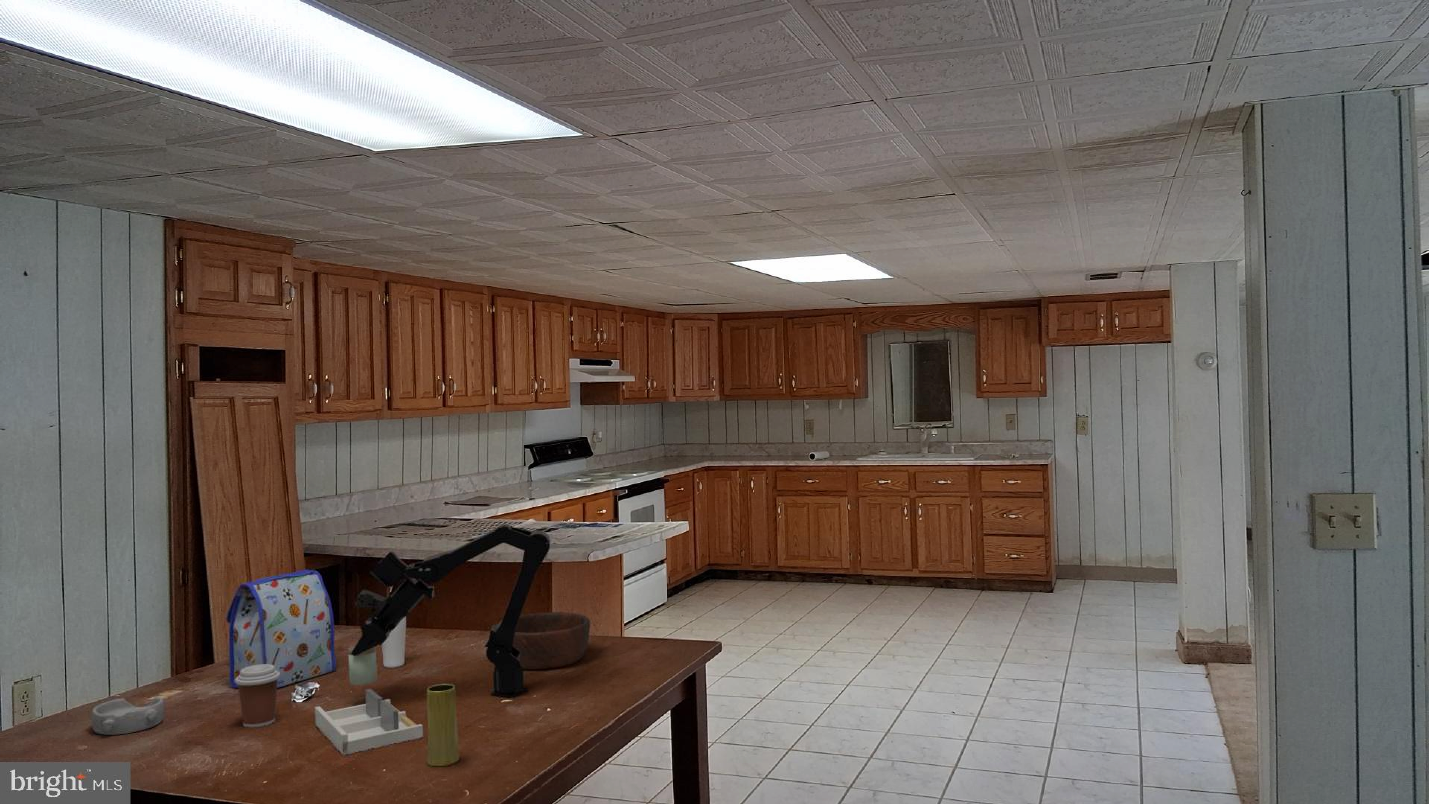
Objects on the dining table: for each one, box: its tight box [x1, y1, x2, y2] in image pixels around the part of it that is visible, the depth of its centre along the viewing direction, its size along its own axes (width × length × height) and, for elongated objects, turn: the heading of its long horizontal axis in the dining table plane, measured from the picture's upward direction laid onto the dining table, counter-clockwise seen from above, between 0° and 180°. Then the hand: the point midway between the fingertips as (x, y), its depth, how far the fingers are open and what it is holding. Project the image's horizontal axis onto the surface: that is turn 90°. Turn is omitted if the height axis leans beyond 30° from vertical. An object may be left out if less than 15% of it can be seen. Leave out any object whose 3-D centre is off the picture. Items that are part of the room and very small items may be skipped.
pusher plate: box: [365, 688, 383, 718], centre depth 213 cm, size 1×9×5 cm, turn 36°
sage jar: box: [347, 644, 378, 686], centre depth 226 cm, size 6×6×8 cm
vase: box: [426, 683, 460, 767], centre depth 188 cm, size 6×6×14 cm
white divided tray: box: [314, 698, 424, 756], centre depth 207 cm, size 16×23×6 cm
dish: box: [90, 696, 165, 736], centre depth 215 cm, size 14×14×5 cm
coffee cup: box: [235, 664, 280, 728], centre depth 215 cm, size 9×9×12 cm
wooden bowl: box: [495, 611, 591, 671], centre depth 260 cm, size 25×25×10 cm
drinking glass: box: [381, 615, 407, 669], centre depth 258 cm, size 7×7×15 cm
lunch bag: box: [225, 569, 337, 689], centre depth 249 cm, size 23×17×27 cm
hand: (355, 651), depth 226 cm, fingers closed on sage jar, 6 cm apart
